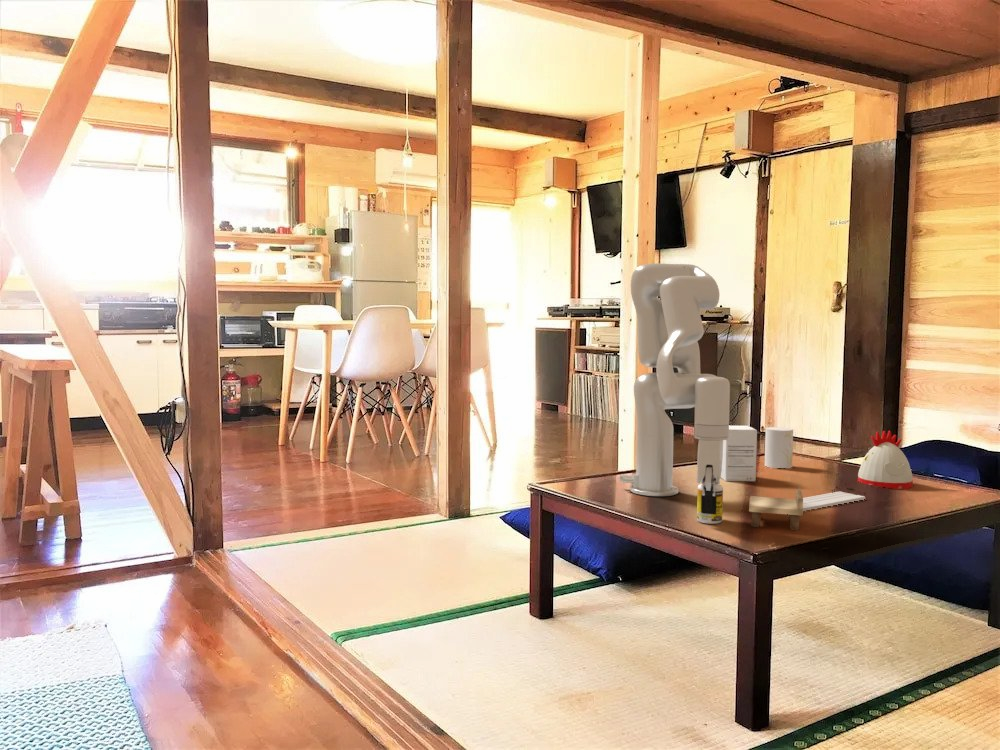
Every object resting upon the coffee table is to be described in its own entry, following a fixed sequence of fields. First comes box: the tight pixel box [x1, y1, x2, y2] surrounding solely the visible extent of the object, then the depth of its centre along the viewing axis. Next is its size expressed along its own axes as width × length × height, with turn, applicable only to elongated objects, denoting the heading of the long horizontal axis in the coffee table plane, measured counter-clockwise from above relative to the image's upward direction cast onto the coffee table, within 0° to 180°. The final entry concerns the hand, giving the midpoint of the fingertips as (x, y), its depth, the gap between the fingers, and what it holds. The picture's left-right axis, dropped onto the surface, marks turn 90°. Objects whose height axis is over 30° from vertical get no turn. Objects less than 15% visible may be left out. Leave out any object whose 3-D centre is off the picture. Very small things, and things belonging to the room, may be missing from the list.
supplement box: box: [720, 425, 758, 482], centre depth 232 cm, size 9×9×15 cm
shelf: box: [748, 488, 804, 531], centre depth 179 cm, size 11×11×7 cm
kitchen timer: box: [857, 430, 914, 490], centre depth 225 cm, size 14×14×15 cm
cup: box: [764, 426, 794, 469], centre depth 251 cm, size 8×8×12 cm
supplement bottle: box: [696, 480, 724, 525], centre depth 181 cm, size 6×6×10 cm
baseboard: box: [803, 486, 866, 512], centre depth 200 cm, size 30×3×10 cm
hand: (709, 508), depth 181 cm, fingers open, 7 cm apart
